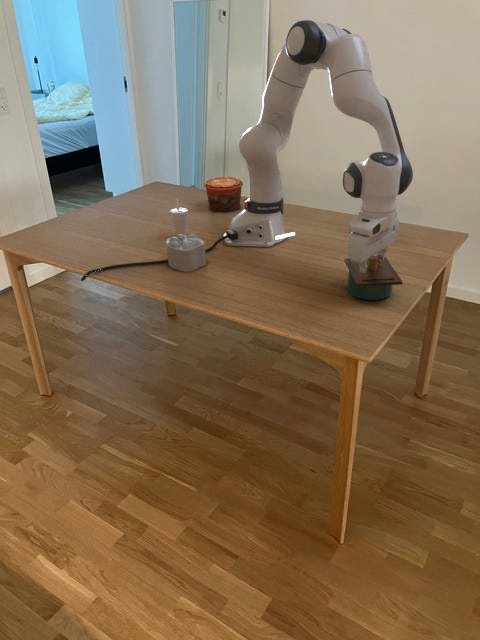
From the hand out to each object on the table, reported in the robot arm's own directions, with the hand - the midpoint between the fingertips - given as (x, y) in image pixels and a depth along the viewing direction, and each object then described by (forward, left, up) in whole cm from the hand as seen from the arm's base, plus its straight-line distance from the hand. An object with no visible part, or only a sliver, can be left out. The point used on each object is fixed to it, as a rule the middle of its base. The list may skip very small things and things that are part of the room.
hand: (371, 266), depth 136 cm
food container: (-41, +79, -8) cm, 89 cm away
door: (0, 0, -2) cm, 2 cm away
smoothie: (-57, +49, -8) cm, 76 cm away
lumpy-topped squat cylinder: (-54, +25, -8) cm, 60 cm away
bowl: (0, 0, -8) cm, 8 cm away
